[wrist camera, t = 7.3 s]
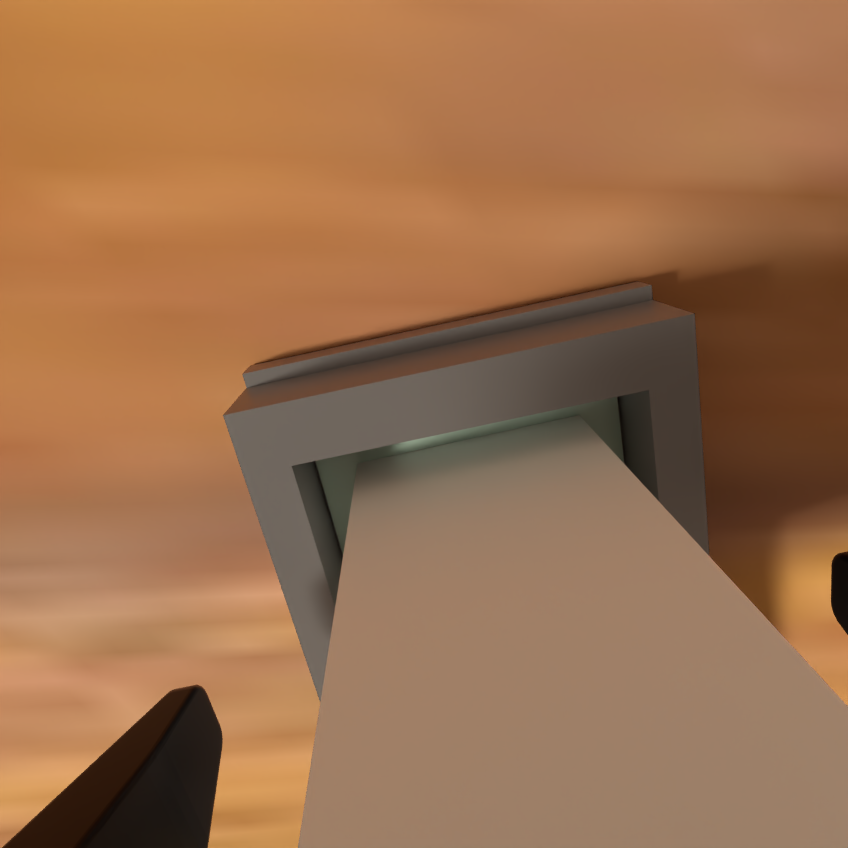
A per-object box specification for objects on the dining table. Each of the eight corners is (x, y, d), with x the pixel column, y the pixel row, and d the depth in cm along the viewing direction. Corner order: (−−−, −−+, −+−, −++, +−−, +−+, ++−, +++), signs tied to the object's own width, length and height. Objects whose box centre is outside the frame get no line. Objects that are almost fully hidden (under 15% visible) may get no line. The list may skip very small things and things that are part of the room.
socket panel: (692, 891, 16) (735, 989, 14) (431, 942, 16) (436, 1044, 14) (638, 281, 11) (693, 296, 9) (250, 365, 11) (217, 399, 9)
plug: (605, 602, 12) (1085, 1491, 4) (406, 644, 12) (432, 1598, 4) (579, 414, 11) (1238, 1131, 2) (357, 462, 11) (226, 1313, 2)
